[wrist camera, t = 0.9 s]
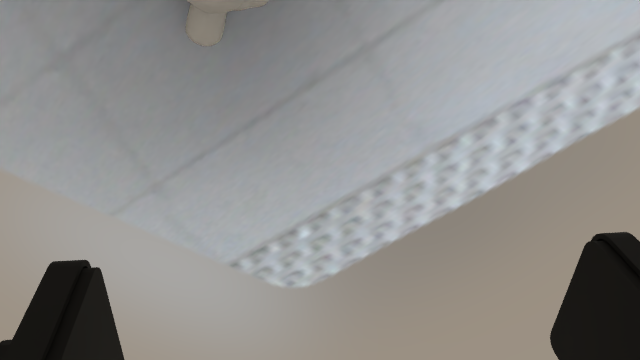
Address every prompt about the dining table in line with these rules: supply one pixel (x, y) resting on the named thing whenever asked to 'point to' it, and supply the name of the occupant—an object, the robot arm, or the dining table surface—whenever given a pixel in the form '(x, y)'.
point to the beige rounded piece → (213, 18)
